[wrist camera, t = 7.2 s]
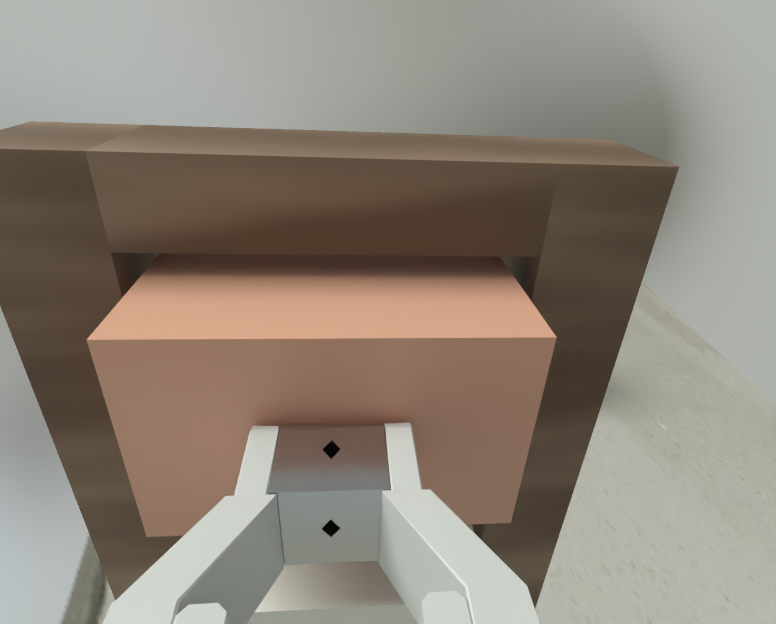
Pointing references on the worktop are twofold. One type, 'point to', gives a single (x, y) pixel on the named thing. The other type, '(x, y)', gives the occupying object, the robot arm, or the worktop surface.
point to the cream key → (333, 596)
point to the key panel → (318, 237)
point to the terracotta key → (321, 370)
